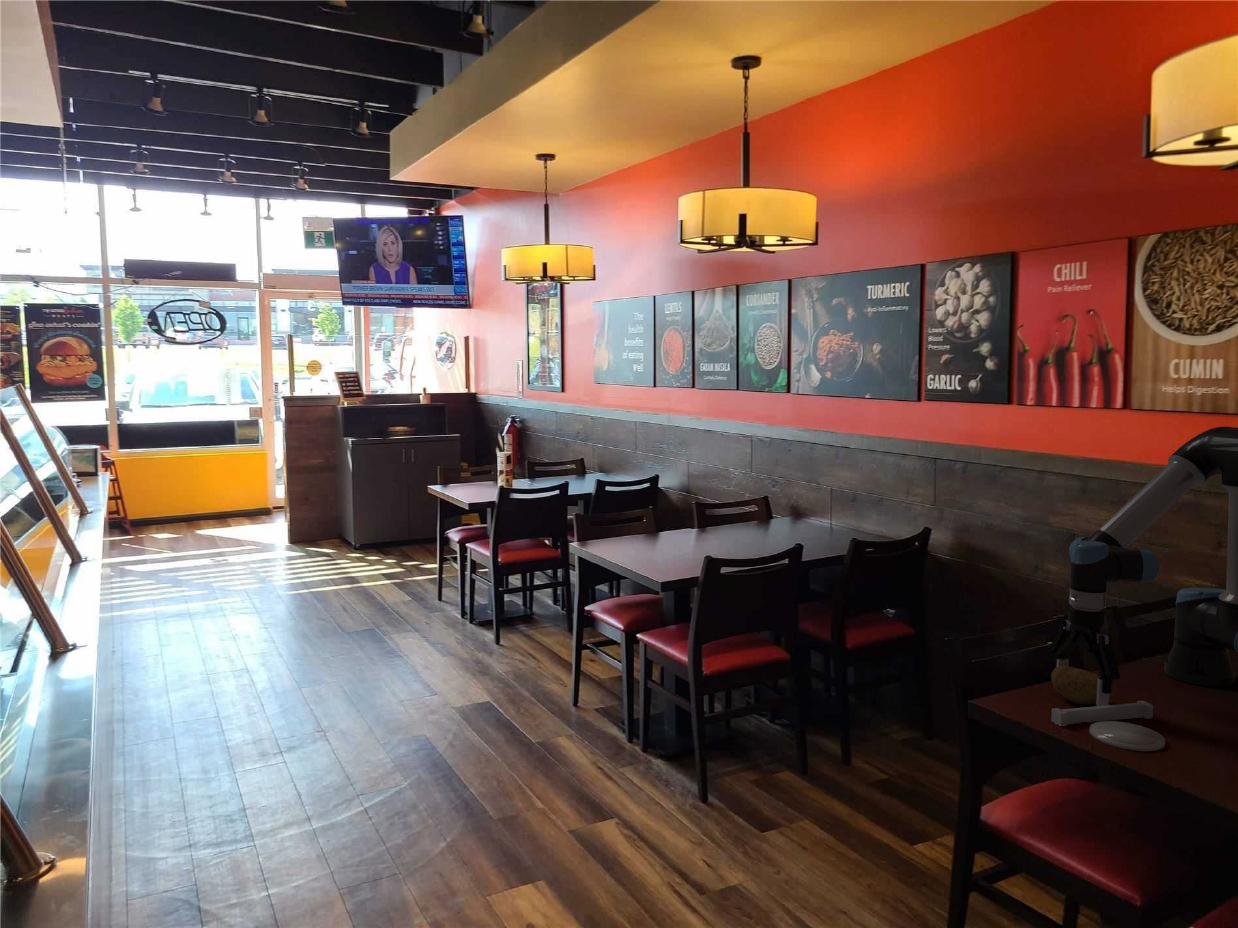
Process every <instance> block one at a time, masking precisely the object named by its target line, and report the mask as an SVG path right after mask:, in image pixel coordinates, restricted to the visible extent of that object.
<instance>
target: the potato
mask: <svg viewBox="0 0 1238 928" xmlns="http://www.w3.org/2000/svg"><path fill="white" fill-rule="evenodd" d="M1099 677H1101V676H1100V674H1099V673H1095V672H1093V671H1089V670H1086V669H1082V668H1077V667H1074V666H1069V665H1068V666H1058V667H1056V668H1055V667H1054V669H1053V670H1052V672H1051V675H1050V679H1051V683H1052V685H1053V687H1054V689H1055V690H1056V692H1057V693H1059V694H1060V695H1061V696H1062V697H1064V698H1065V699H1066V700H1068V701H1070V702H1072V703H1073V704H1074V703H1075V704H1078V705H1080V706H1081V705H1084V706H1085V705H1087V706H1088V705H1096V699H1097V683H1098V678H1099ZM1116 691H1117V686H1116V683H1115V682H1114V681H1113V680H1112V687H1111V693H1110V695H1109V700H1110V699H1112V698H1113V697H1114V696H1115V694H1116Z"/></svg>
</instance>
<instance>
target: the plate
mask: <svg viewBox="0 0 1238 928" xmlns="http://www.w3.org/2000/svg"><path fill="white" fill-rule="evenodd" d="M1089 734H1090V736H1092V737H1093V738H1094V739H1095V740H1097V741H1098V742H1101V743H1103V744H1106V745H1108V746H1111V747H1113V748H1118V749H1122V750H1126V751H1131V752H1133V751H1135V752H1157V751H1161V750H1163V749H1164V748H1166V739H1165V737H1164V736H1163V735H1162V734H1160V733H1159V732H1157V731H1155V730H1153V729H1150V728H1148V727H1146V726H1143V725H1138V724H1136V723H1131V722H1124V721H1117V720H1109V721H1098V722H1093V723H1092V724H1091V725H1090V726H1089Z"/></svg>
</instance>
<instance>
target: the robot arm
mask: <svg viewBox="0 0 1238 928" xmlns="http://www.w3.org/2000/svg"><path fill="white" fill-rule="evenodd" d="M1167 463H1168V464H1166V465H1165V467H1164V468H1162V469H1161V470H1160V471H1159V472H1158V473H1157V474H1156V475H1155V476H1154V477H1153V478H1151V479H1150V481H1148V482H1146V484H1145V485H1144V486H1143V487H1142V488H1141V489H1139V491H1138V492H1137V493H1136V494H1135V495H1133V496H1132V497H1131V498H1130V499H1129V500H1128V501H1127V502H1126V503H1124V505H1123V506H1122V507H1120V508H1119V509H1118V510H1117V511H1116V512H1115V513H1114V514H1113V515H1112V516H1111V517H1110V518H1109V519H1108V520H1107V521H1105V522H1104V524H1102V525H1101V526H1100V527H1099V528H1098V529H1097V530H1096V531H1095V532H1093V534H1091V535H1090V536H1085V537H1084V536H1081V537H1077V538H1075V539H1074V540H1073V541H1072V542H1071V543H1070V546H1069V548H1068V549H1069V550H1068V554H1069V557H1070V576H1069V577H1070V580H1069V595H1068V597H1069V598H1068V604H1069V605H1070V606H1068V610H1067V619H1064V620H1063V619H1062V620H1060V625H1059V629H1058V631H1057V633H1056V635H1055V638H1054V640H1053V641H1052V643H1051V646H1050V647H1049V652H1050V654H1053V656H1054V658H1055V666H1054V669H1055V668H1056V667H1058V666H1069V665H1070V663H1069V661H1070V659H1069V658H1068V657H1069V655H1070V653H1071V652H1073V651H1074V649H1075V648H1076V647H1077V646H1081V647H1082V648H1083V649H1086V651H1087V652H1088V653H1089V654H1090V656H1091V659H1092V660H1093V663H1094V665H1095V668H1096V670H1097V671H1098V674H1099V675H1100V676H1101V677H1099V678H1098V683H1097V699H1096V704H1095V706H1107V705H1110V699H1109V695H1110V693H1111V687H1112V681H1113V680H1119V679H1120V678H1121V674H1120V671H1119V668H1118V663H1117V661H1116V657H1115V653H1114V652H1115V651H1114V649H1113V645H1112V644H1113V643H1112V636H1111V634H1102V633H1101V629H1102V628H1103V626H1104V625H1105V614H1106V613H1105V612H1106V611H1104V609H1105V608H1106V599H1107V598H1106V597H1107V587H1108V583H1138V584H1140V583H1146V582H1151V581H1153V580H1155V579H1156V578H1157V577H1158V574H1159V572H1160V563H1159V560H1158V557H1157V555H1156V554H1155V553H1154V552H1152V551H1150V550H1147V549H1140V548H1137V549H1130V548H1128V547H1129V546H1130V545H1131V544H1132V543H1134V541H1135V540H1136V539H1138V538H1139V537H1140V536H1141V535H1142V534H1143V533H1145V531H1146V530H1147V529H1149V528H1150V527H1151V526H1152V525H1153V524H1154V523H1155V522H1157V520H1158V519H1159V518H1161V517H1162V515H1164V514H1165V512H1167V511H1168V510H1169V509H1170V508H1171V507H1172V506H1173V505H1174V504H1175V503H1177V502H1178V501H1179V500H1180V499H1181V498H1182V497H1183V496H1184V495H1185V494H1187V492H1188V491H1190V489H1192V488H1193V487H1194V486H1195V485H1202V484H1204V483H1205V482H1206V481H1207V480H1209V479H1210V478H1211V477H1214V476H1217V475H1221V486H1222V487H1223V488H1224V489H1226V491H1227V492H1228V511H1227V512H1228V513H1227V546H1226V547H1227V552H1226V555H1227V556H1226V584H1225V585H1226V586H1225V587H1226V589H1225V588H1224V589H1223V588H1215V587H1183V588H1181V589H1179V590H1178V592H1177V594H1176V601H1175V612H1174V614H1175V616H1174V635H1173V636H1174V638H1173V645H1172V647H1171V649H1170V651H1169V655H1168V656H1167V659H1166V660H1165V662H1164V667H1163V668H1164V671H1163V672H1164V674H1165V675H1167V676H1168V677H1170V678H1172V679H1175V680H1178V681H1181V682H1184V683H1188V684H1191V685H1192V684H1193V685H1197V686H1198V685H1199V686H1204V687H1216V688H1217V687H1220V688H1221V687H1229V686H1233V685H1234V684H1235V683H1236V682H1235V681H1236V672H1235V670H1234V669H1233V664H1232V660H1231V657H1230V652H1229V650H1231V651H1232V652H1236V653H1238V427H1235V426H1234V427H1233V426H1225V425H1224V426H1217V427H1211V428H1209V429H1207V430H1204V431H1202V432H1201V433H1199V434H1197V435H1195V436H1194V437H1192V438H1190V439H1189V440H1188V441H1186V442H1185V443H1184V444H1183V445H1181V446H1180V447H1179V448H1178V449H1177V450H1176V451H1174V452H1173V453H1172V454H1171V455H1170V456H1169V457H1168V459H1167ZM1234 682H1235V683H1234ZM1233 683H1234V684H1233Z"/></svg>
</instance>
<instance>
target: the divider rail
mask: <svg viewBox="0 0 1238 928" xmlns="http://www.w3.org/2000/svg"><path fill="white" fill-rule="evenodd" d="M1153 714H1154V705H1153V704H1152V703H1149V702H1147V701H1144V700H1137V701H1136V702H1133V703H1132V702H1131V703H1120V704H1109V705H1107V706H1096V705H1095V706H1087V707H1076V708H1075V707H1074V708H1065V709H1061V708H1059V707H1055V708H1053V707H1052V708H1051V718H1050V720H1051V721H1052V722H1051V723H1053V722H1054V723H1053V724H1055V725H1057V724H1058V725H1059V727H1060V726H1063V727H1067V726H1068V725H1075V723H1076V724H1082V723H1081V722H1087V723H1096V722H1102V721H1117V720H1127V719H1138V718H1139V719H1140V718H1144V719H1146V720H1147V719H1148V720H1149V719H1153V716H1154V715H1153ZM1058 725H1057V726H1058Z"/></svg>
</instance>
